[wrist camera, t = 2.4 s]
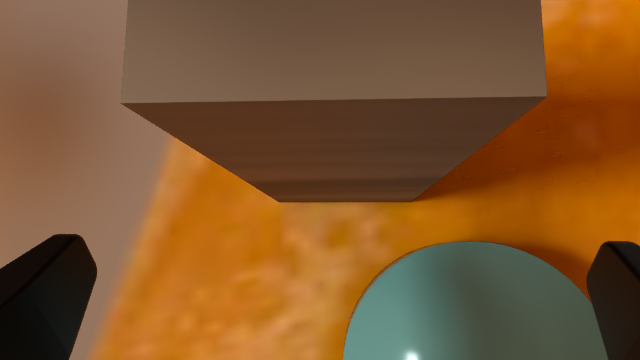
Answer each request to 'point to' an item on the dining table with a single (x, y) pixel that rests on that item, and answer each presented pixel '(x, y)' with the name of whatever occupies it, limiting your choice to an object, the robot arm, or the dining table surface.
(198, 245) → the dining table surface
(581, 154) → the dining table surface
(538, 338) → the teal base
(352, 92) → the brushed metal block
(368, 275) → the dining table surface
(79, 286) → the robot arm
